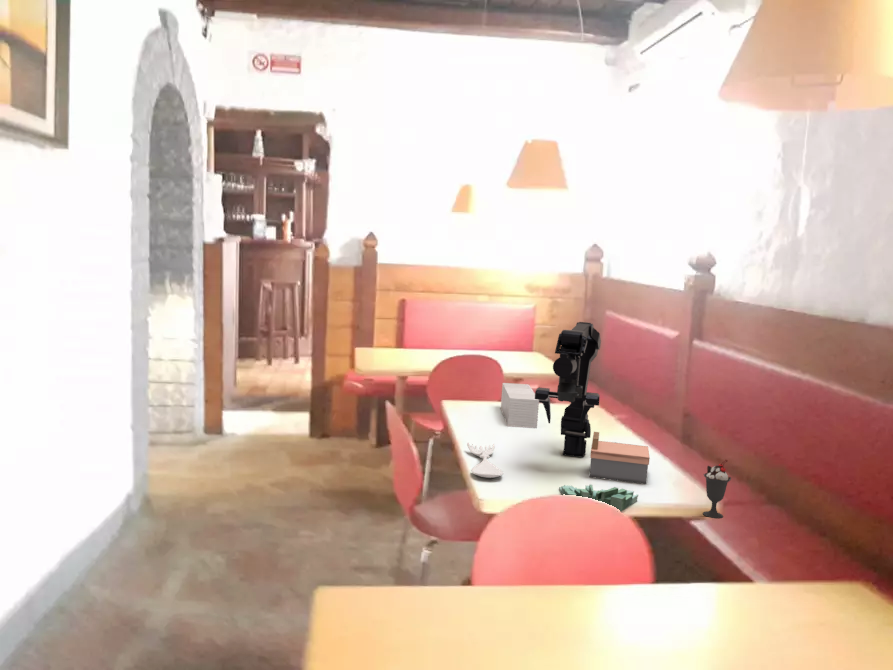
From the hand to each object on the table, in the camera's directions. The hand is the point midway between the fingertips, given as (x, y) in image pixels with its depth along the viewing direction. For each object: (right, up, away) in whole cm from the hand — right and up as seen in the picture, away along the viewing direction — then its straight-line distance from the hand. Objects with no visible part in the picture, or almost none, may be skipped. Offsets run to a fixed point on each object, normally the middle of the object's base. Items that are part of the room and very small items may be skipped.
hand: (564, 424), depth 232 cm
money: (+5, -17, -28) cm, 33 cm away
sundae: (+33, -19, -33) cm, 51 cm away
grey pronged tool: (-24, -12, -2) cm, 27 cm away
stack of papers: (-8, -6, +68) cm, 69 cm away
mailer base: (+15, -14, -2) cm, 21 cm away
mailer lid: (+16, -9, -3) cm, 18 cm away
